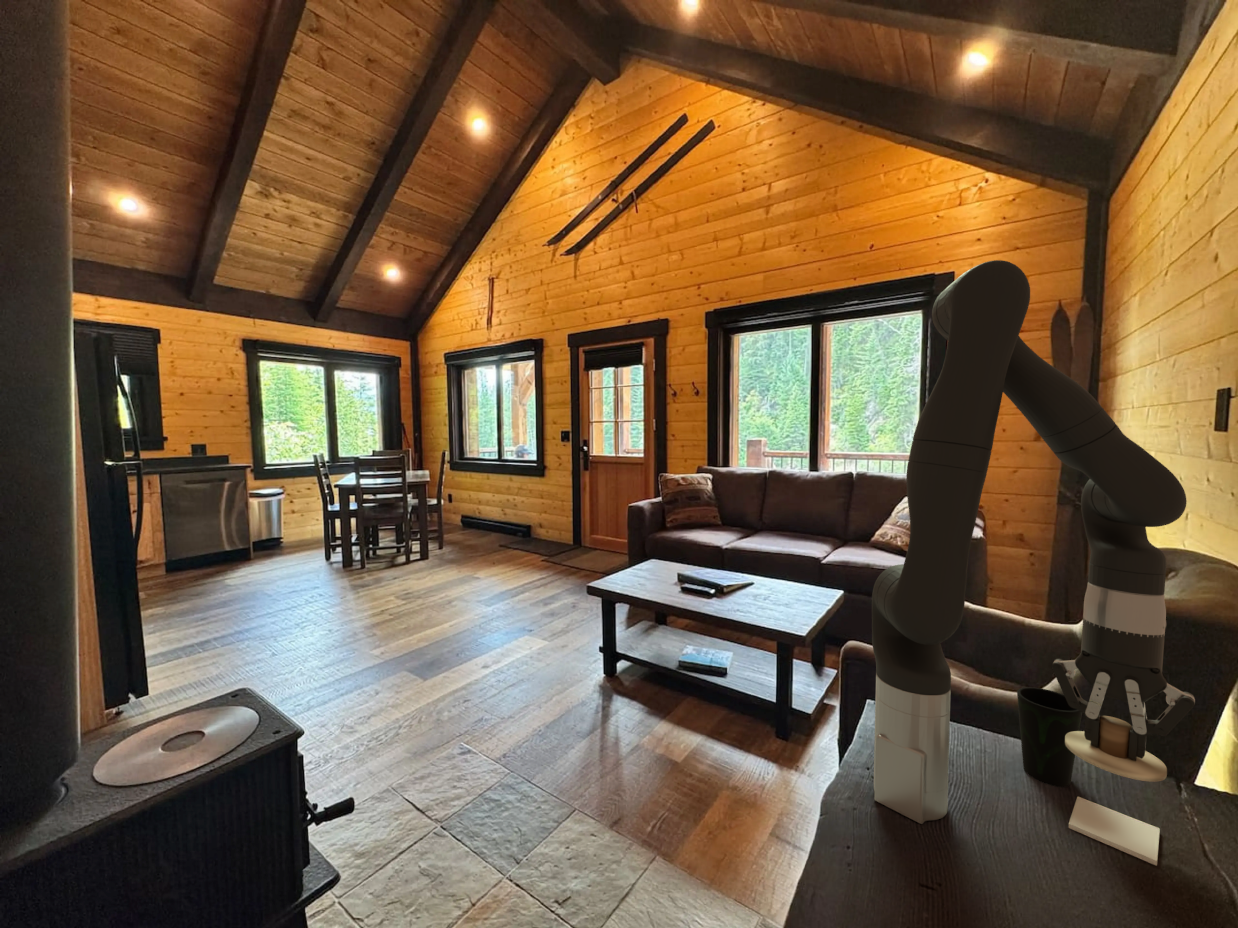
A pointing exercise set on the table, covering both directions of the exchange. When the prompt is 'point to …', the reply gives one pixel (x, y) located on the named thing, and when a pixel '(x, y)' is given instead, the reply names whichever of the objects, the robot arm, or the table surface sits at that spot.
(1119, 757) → the lid
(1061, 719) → the cup
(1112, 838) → the plate
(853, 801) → the table surface
